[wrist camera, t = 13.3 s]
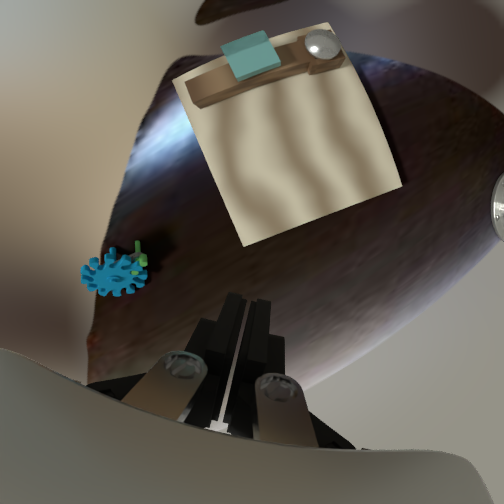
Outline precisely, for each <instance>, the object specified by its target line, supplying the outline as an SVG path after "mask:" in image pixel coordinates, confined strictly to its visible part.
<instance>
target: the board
mask: <svg viewBox="0 0 504 504" xmlns="http://www.w3.org/2000/svg"><path fill="white" fill-rule="evenodd" d="M315 29H325V30H330V29H331V31H332V33H334V31H333V30H332V28H331V26H330V25H329V23H323V24H319V25H315V26H311V27H307V28H303V29H300V30H296V31H292V32H289V33H286V34H282V35H279V36H276V37H273V38H270V39H269V41H270V42H271V44H272V46H273V48H275V47H278V46H282V45H285V44H289V43H293V42H296V41H297V37H298V36H303V35H307V34H308V33H309V32H311V31H312V30H315ZM334 34H335V33H334ZM341 49H342V51H343V53H344V55H345V57H346V59H345V60H344V62H343V64H342V65H341V67H340V68H336V69H332V70H328V71H324V72H320V73H316V74H313V75H309V74H308V72H303V73H300V74H296V75H293V76H289V77H286V78H283V79H280V80H276V81H273V82H270V83H267V84H264V85H261V86H258V87H256V88H253V89H250V90H247V91H245V92H242V93H239V94H237V95H234V96H231V97H229V98H226V99H224V100H221V101H219V102H216V103H214V104H212V105H209V106H207V107H205V108H202V109H200V108H198V107H197V106H196V105H194V104H193V103H192V100H191V98H190V95H189V93H188V90H187V87H186V85H185V81H187V80H190V79H192V78H194V77H196V76H199V75H201V74H203V73H206V72H208V71H210V70H213V69H215V68H218V67H220V66H223V65H225V64H228V61H227V59H226V57H225V56H222V57H220V58H218V59H215V60H213V61H211V62H209V63H206V64H204V65H202V66H200V67H198V68H196V69H194V70H192V71H190V72H187V73H185V74H184V75H182V76H180V77H178V78H176V79H174V80H172V81H173V83H174V86H175V88H176V91H177V93H178V95H179V98H180V100H181V102H182V105H183V107H184V109H185V112H186V114H187V116H188V119H189V121H190V123H191V126H192V128H193V130H194V133H195V135H196V137H197V140H198V142H199V144H200V147H201V149H202V151H203V154H204V156H205V158H206V161H207V163H208V165H209V168H210V170H211V172H212V175H213V177H214V179H215V182H216V184H217V186H218V189H219V191H220V193H221V196H222V198H223V200H224V202H225V205H226V207H227V209H228V212H229V214H230V216H231V219H232V221H233V223H234V226H235V228H236V230H237V232H238V235H239V237H240V239H241V242H242V244H243V246H244V247H245V246H247V245H250V244H252V243H255V242H258V241H260V240H263V239H265V238H268V237H270V236H273V235H276V234H278V233H281V232H283V231H286V230H289V229H291V228H294V227H296V226H299V225H302V224H304V223H307V222H309V221H312V220H315V219H317V218H320V217H322V216H325V215H328V214H330V213H333V212H336V211H338V210H341V209H343V208H346V207H349V206H351V205H354V204H357V203H359V202H362V201H365V200H367V199H370V198H372V197H375V196H378V195H380V194H383V193H386V192H388V191H391V190H394V189H396V188H399V187H402V184H401V181H400V177H399V174H398V171H397V168H396V165H395V162H394V160H393V157H392V154H391V151H390V148H389V146H388V143H387V140H386V138H385V135H384V133H383V130H382V128H381V125H380V123H379V120H378V118H377V116H376V113H375V111H374V109H373V106H372V104H371V102H370V100H369V98H368V95H367V93H366V91H365V89H364V87H363V85H362V83H361V81H360V79H359V77H358V75H357V73H356V71H355V69H354V67H353V65H352V63H351V61H350V59H349V58H348V56H347V54H346V52H345V50H344V49H343V47H342V45H341Z"/></svg>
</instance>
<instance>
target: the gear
mask: <svg viewBox="0 0 504 504" xmlns="http://www.w3.org/2000/svg"><path fill="white" fill-rule="evenodd" d="M135 252H136V253H133V254H131V255H129V256H128V255H123V256H122V257H121V259H120V260H117V261H116V248H115V247H111V248H110V254H105V264H104V265H99V259H98V258H97V257H94V258H90V260H89V265H90V267H92V268H94V269H95V270H94V271H93V270H90V268H89V266H88V265H84V266H82V267H81V274H82V275H81V283H82V284H87V289H88V290H89V291H94V290H96V289H99V294H100V295H102V296H105V295H107V293H108V292H109V291H111V290H113V296H121V289H122V288H126V292H127V293H128V294H130V293H134V292H135V288H134V286H133V285H131V283H135V284H136V287H138V288H141V287H143V286H144V285H145V282H144V280H145V279H146V278H147V270H143V267H144V266H147V255H146V254H143V253H142V252H141V251H140V241H135ZM142 266H143V267H142ZM89 276H90V277H89ZM136 277H139V278H136Z"/></svg>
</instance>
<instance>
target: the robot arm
mask: <svg viewBox="0 0 504 504" xmlns="http://www.w3.org/2000/svg"><path fill="white" fill-rule="evenodd" d="M491 217H492V223H493V227H494V229H495V232H496V234H497V235H498V237H499V238H500V239H501V240H502V241H503V242H504V173H502V174H501V176H500V177H499V178H498V180H497V182H496V184H495V187H494V190H493V194H492V200H491ZM246 302H247V300H246V299H242V295H240V294H236V293H232V292H229V293H228V295H227V298H226V300H225V303H224V305H223V308H222V310H221V313H220V315H219V318H218V320H217V322H216V321H212V320H208V319H204V318H201V319H200V321H199V323H198V325H197V327H196V329H195V331H194V333H193V335H192V336H191V338H190V340H189V342H188V344H187V346H186V348H185V350H184V351H174V352H170V353H167V354H165V355H164V356H162V357H161V358H160V359H159V360H158V361H157V362H156V363H155V365H154V366H153V367H152V368H151V369H150V370H149V371H148V372H147V373H143V374H138V375H133V376H128V377H123V378H117V379H112V380H106V381H101V382H95V383H91V384H88V385H87V386H84V385H82V384H81V382H79V381H75V380H72V379H70V378H68V377H66V376H64V375H62V374H59V373H58V372H56V371H54V370H51V369H49V368H48V367H45V366H44V365H42V364H40V363H38V362H36V361H34V360H32V359H29V358H27V357H25V356H23V355H21V354H18V353H15V352H12V351H10V350H6V349H2V348H0V504H494V503H493V500H492V498H491V496H490V493H489V491H488V490H487V487H486V485H485V483H484V482H483V479H482V478H481V476H480V474H479V473H478V471H477V470H476V468H475V467H474V466H473V465H472V464H471V462H469V461H468V460H467V459H465V458H462V457H460V456H457V455H453V454H450V453H446V452H441V451H433V450H412V449H411V450H370V449H365V448H362V449H361V450H356V448H355V447H354V446H353V445H352V444H351V443H350V442H349V441H347V440H346V439H345V438H343V437H342V436H341V435H339V434H338V433H337V432H335V431H334V430H333V429H331V428H330V427H329V426H327V425H326V424H325V423H323V422H322V421H321V420H320V419H318V418H317V417H316V416H315V415H313V414H312V413H311V412H309V411H308V407H307V404H306V400H305V397H304V393H303V390H302V388H301V386H300V385H299V384H298V382H297V381H295V380H294V379H292V378H291V377H289V376H286V375H285V339H284V337H281V336H277V335H272V334H269V326H270V311H271V302H270V301H266V300H262V299H257V302H254V301H251V304H250V309H249V313H248V317H247V321H246V325H245V329H244V333H243V337H242V341H241V346H240V350H239V354H238V358H237V362H236V366H235V371H234V375H233V380H232V384H231V388H230V393H229V397H228V401H227V406H226V410H225V414H224V419H223V423H228V429H227V432H229V433H231V434H232V435H230V434H225V433H221V432H217V431H213V430H209V429H205V427H207V428H210V424H211V420H215V421H218V418H219V414H220V410H221V406H222V402H223V398H224V394H225V390H226V386H227V382H228V378H229V374H230V370H231V366H232V361H233V357H234V353H235V349H236V345H237V340H238V336H239V332H240V328H241V323H242V319H243V315H244V311H245V306H246Z"/></svg>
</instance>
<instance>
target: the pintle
mask: <svg viewBox="0 0 504 504" xmlns="http://www.w3.org/2000/svg"><path fill="white" fill-rule="evenodd" d="M305 48H306V50H307V52H308V53H309V54H310V55H312V56H313V57H314V58H315V59H321V60H329V59H333V58H334V57H336V56H337V55H338V53H339V51H340V49H341V43H340V40H339V38H338V37H337V36H336V35H335V34H334V33H332V32H330V31H328V30H325V29H315V30H312V31H311V32H309V33H308V34H307V36H306V38H305Z"/></svg>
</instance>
